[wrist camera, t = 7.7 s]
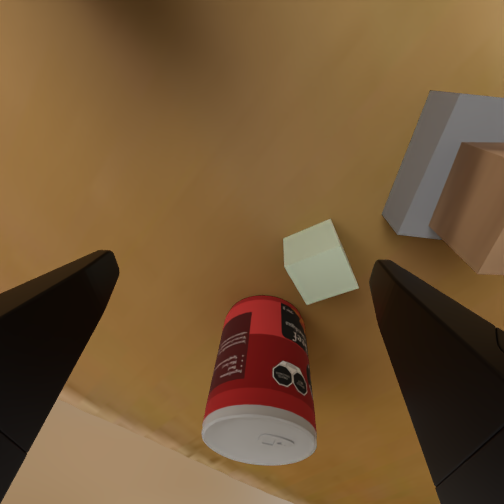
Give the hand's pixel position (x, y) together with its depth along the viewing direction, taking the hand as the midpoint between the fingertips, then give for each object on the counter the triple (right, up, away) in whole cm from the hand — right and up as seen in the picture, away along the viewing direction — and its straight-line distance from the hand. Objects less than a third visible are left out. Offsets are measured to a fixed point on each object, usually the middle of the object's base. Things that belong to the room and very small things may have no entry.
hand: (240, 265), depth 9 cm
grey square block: (+14, +6, +9) cm, 18 cm away
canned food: (+2, -6, +18) cm, 20 cm away
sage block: (+6, +1, +13) cm, 14 cm away
